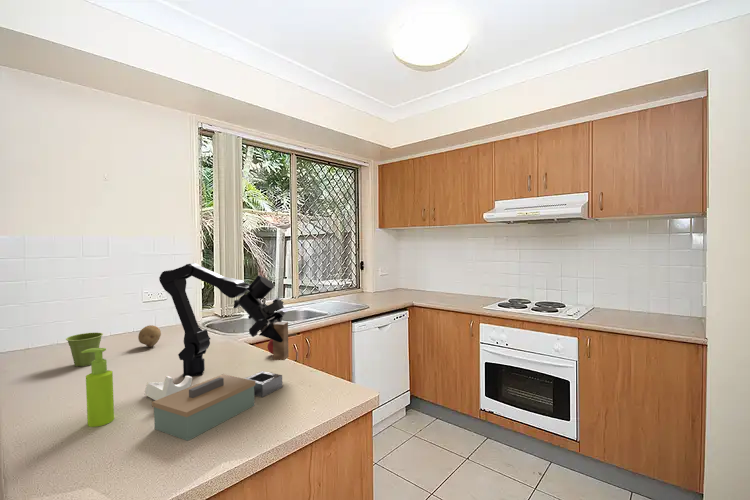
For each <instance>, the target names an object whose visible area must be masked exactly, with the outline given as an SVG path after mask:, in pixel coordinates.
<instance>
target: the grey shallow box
mask: <svg viewBox="0 0 750 500" xmlns="http://www.w3.org/2000/svg"><path fill="white" fill-rule="evenodd" d="M244 379H248V380H253V381H255V386H254V391H255V396H256V397H260V398H264V397H266V396H268V395H270V394H272V393H274V392H276V391H278V390H279V389H282V388H283V374H278V373H273V372H268V371H262V370H261V371H259V372H256V373H254V374H251V375H250V376H247V377H245V378H244ZM255 396H254V397H255Z"/></svg>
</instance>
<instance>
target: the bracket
mask: <svg viewBox="0 0 750 500" xmlns="http://www.w3.org/2000/svg"><path fill="white" fill-rule="evenodd" d="M193 377H194V376H185V377H183V378H184V379H183V380H182V381H181V382H180V383H177V384H176V383H174V380H173V379H174V378H173V377H172V376H169V375H166V376H165V377H164V381H158V382H157V381H152V382H147V383H146V385H145V390H144V395H145V396H147V397H148V398H150V399H152V400H153V401H156V400H158V399H161V398H163V397H166V396H168V395H171V394H173V393H176V392H179V391H181V390H184V389H186V388H189V387H191V386H192V381H193Z"/></svg>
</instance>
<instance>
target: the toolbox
mask: <svg viewBox="0 0 750 500" xmlns="http://www.w3.org/2000/svg"><path fill="white" fill-rule="evenodd" d="M254 386H255V381H253V380H248V379H245V378H243V377H239V376H238V377H237V376H232V375H229V374H226V373H223V374H220V375H217V376H214V377H211V378H209V379H207V380H205V381H202V382H199V383H197V384H194V385H191V387H189V388H186V389H184V390H181V391H179V392H176V393H173V394H171V395H168V396H166V397H163V398H161V399H158V400H153V401H151V406H152V407H153V415H154V416H153V420H154V421H153V423H154V430H156V431H159V432H163V433H165V434H167V435H171V436H173V437H176V438H179V439H182V440H184V441H187V442H188V441H190V440H192V439H193V438H195V437H198V436H199V435H201V434H203V433H205V432H207V431H209V430H211V429H212V428H215V427H217V426H218V425H221V424H222V423H224V422H226V421H227V420H228V421H229V420H230V419H232V418H233V417H235V416H237V415H239V414H241V413H243V412H245V411H247V410H249V409H250V408H252V407H254V406H255V391H254Z"/></svg>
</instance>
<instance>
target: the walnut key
mask: <svg viewBox="0 0 750 500" xmlns="http://www.w3.org/2000/svg"><path fill="white" fill-rule="evenodd" d="M274 329H275V330H276V331H277V333H278V334H279V335H280V336H281V338H282V339H283V341H282V342H281V343H280V342H278V341H275V340H273V354H272V355H273V357H272V360H273V361H285V360H287V359H288V358H289V321H282V322H276V323H274Z"/></svg>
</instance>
